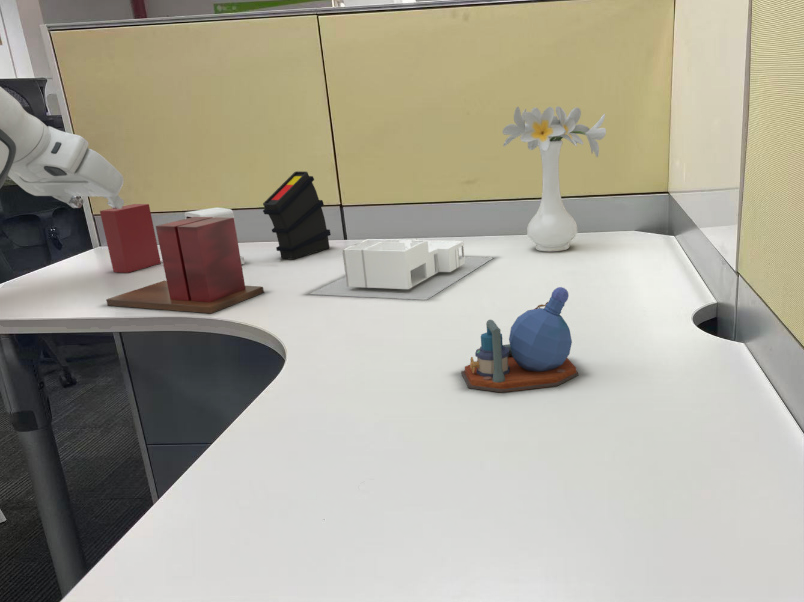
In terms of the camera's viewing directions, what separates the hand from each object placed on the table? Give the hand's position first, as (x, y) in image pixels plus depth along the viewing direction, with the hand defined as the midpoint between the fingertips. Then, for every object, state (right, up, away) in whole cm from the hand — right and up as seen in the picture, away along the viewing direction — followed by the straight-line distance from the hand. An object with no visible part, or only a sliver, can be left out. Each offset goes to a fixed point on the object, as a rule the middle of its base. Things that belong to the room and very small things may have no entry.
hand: (99, 205), depth 140 cm
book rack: (+21, -18, -15) cm, 32 cm away
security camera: (+18, -10, +7) cm, 22 cm away
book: (+2, -10, +9) cm, 13 cm away
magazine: (+32, -7, +14) cm, 35 cm away
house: (+55, -13, -7) cm, 56 cm away
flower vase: (+80, -6, +9) cm, 80 cm away
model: (+73, -30, -53) cm, 95 cm away
